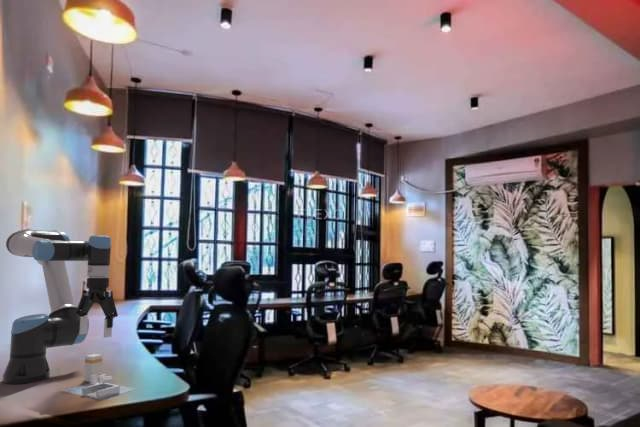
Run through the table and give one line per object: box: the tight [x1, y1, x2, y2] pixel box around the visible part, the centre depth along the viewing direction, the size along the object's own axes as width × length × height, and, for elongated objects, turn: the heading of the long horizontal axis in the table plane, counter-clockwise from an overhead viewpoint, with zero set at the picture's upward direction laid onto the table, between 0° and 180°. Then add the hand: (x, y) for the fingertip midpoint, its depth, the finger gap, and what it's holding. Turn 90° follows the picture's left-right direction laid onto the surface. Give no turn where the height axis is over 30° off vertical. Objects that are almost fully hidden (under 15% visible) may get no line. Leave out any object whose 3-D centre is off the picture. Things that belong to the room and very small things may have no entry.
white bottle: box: [83, 353, 103, 383], centre depth 171 cm, size 4×4×10 cm
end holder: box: [81, 382, 121, 400], centre depth 154 cm, size 8×8×2 cm
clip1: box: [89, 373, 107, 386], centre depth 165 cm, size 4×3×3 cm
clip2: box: [101, 375, 114, 384], centre depth 161 cm, size 4×3×3 cm
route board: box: [60, 380, 137, 401], centre depth 159 cm, size 20×14×1 cm
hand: (95, 335), depth 172 cm, fingers open, 13 cm apart
